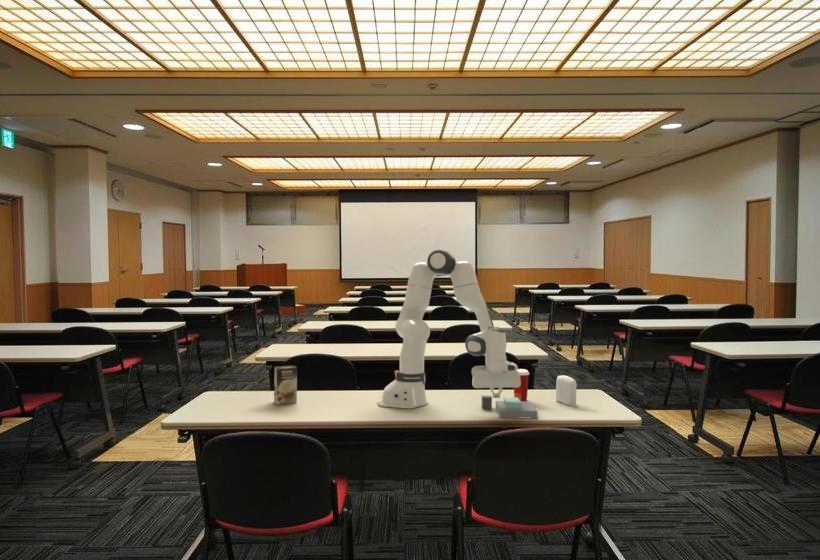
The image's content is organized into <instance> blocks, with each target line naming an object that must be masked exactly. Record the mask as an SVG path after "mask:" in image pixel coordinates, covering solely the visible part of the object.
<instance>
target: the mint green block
mask: <svg viewBox="0 0 820 560" xmlns="http://www.w3.org/2000/svg"><path fill="white" fill-rule="evenodd" d="M503 401H504V405H505V406H506V408H507V409H521V402H520V400H519V399H518V398H514V396H513V397H506V396H505V397H503Z"/></svg>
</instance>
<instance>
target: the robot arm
mask: <svg viewBox="0 0 820 560" xmlns="http://www.w3.org/2000/svg"><path fill="white" fill-rule="evenodd" d="M409 273H410V274H409V277H408V280H407V286H406V291H405V296H404V302H403V305H402V308H401V310H400V313H399V316H398V318H397V320H396V322H395V331H396V333H397V334H398V336H399V337H400V338H402V340H403V341H402V347H401V351H400V353H399V370H394V380H393V381H391V382H390V383H388V384H387V385H386V386H385V387H384V388H383V391H382V395H381V396H380V397H379V398H378V399H377V405H378V406H379V407H382V408H384V407H385V408H399V409H401V408H402V409H414V408H415V409H416V408H417V407H423V406H425V405H427V404H428V400H427V394H426V389H425V386H426V385H425V384H426V372H425V352H426V347H427V342H428V339H429V337H430V334H431V328H430V326H429V325H428V323H426V321H425V320H423V318H424V315H425V312H426V310H427V309H428V308H429V306H430V301H431V300H430V299H431V295H432V290H433V289H432V288H433V283H434V279H435V278H436V277H437V278H438V277H441V276H442V277H445V276H448V277H449V278H450V279H451V282H452V287H453V291H454V292H453V293H454V296H455V299H456V301H457V302H458V303H459V304H460V306H462V307H466V308H468V309H469V310H471V311H472V312H474V313H473V314H475V317H476V319H477V323H478V326H479V329H480V331H479V332H477V333H473V334H470V335H468V336H467V337H466V339H465V343H464V345H465V349H466V352H467V353H468V354H469V355H471V356H473V357H480V356H485V357H484V358H485V360H484V361H485V362H484V363H485V365H474V366H473V367H472V368H471V375H472V382H471V384H472V387H473V388H474V389H489V390H490V391H491V392H490V393H491V394H492V399H500V398H501V394H502V392H503V388H514V387H519V386H520V385H521V381H520V375H519V372H518V371H517V370H518V369H519V368H518V365H517V364H516V363H514V362H513V361H512V362H511V361H508V360H507V355H506V351H507V338H506V332H505V330H504V329H503V328H501V327H499V326H494V323H493V319H492V316H491V313H490V310H489V306H488V303H487V302H486V299H484V297H483V294H482V291H481V290H480V285H479V281H478V278H477V274H476V272H475V268H474V266H473V264H472V263H471V262H470V261H466V260H460V261H457V260H456V258H455V256H454V255H453V254H452V253H451V252H449V251H448V250H445V249H435V250H432V251H431V252H430V253H429V255H428V257H427V261H426V262H423V261H420V262H416V263H414V264H413V266H412V268H411V271H410V272H409ZM495 389H498V391H497V392H495V391H494V390H495Z"/></svg>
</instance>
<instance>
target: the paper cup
mask: <svg viewBox="0 0 820 560" xmlns="http://www.w3.org/2000/svg"><path fill="white" fill-rule="evenodd" d="M517 371H518V372H519V375H520V381H521V385H520V386H519V387H513V397H514V398H518V399H519V400H520V401H528V391H529V390H528V388H529V375H530V372H529V370H527V369H525V368H518V370H517Z"/></svg>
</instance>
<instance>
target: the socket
mask: <svg viewBox="0 0 820 560" xmlns="http://www.w3.org/2000/svg"><path fill="white" fill-rule="evenodd" d="M520 402H521V409H507V408H506V406H505V405H504V400H495V410H496V409H497V410H496V412H497V411H498V412H497V414H498V416H499V418H500V417H508V418H507V419H518V418H517V417H531V418H530V419H538V410H537V409H536V408H535V406H534V405H533V403H532V402H531V401H528V400H527V401H520ZM509 417H511V418H509Z"/></svg>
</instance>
